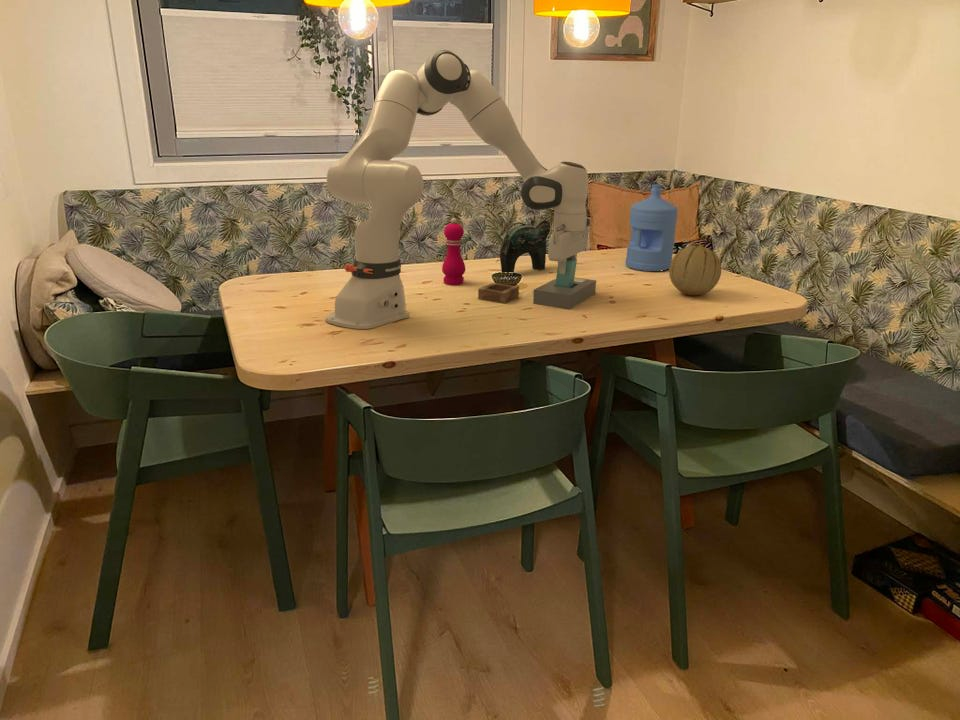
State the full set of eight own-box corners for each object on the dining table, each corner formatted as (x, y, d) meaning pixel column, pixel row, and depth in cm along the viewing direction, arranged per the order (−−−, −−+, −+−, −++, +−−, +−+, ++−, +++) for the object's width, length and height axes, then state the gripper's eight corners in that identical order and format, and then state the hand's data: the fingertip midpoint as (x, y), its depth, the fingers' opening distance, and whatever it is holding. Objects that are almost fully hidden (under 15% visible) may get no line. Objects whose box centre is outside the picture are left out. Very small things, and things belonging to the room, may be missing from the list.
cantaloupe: (673, 300, 199) (679, 248, 194) (662, 287, 213) (667, 239, 208) (724, 301, 199) (732, 250, 194) (710, 288, 213) (716, 240, 208)
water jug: (646, 260, 250) (654, 181, 240) (680, 269, 238) (690, 186, 228) (615, 265, 242) (622, 183, 232) (649, 274, 230) (658, 188, 220)
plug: (568, 289, 196) (572, 257, 192) (555, 286, 198) (559, 254, 194) (573, 285, 200) (577, 253, 196) (560, 282, 201) (564, 251, 197)
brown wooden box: (504, 303, 193) (505, 293, 192) (478, 299, 197) (478, 288, 196) (518, 296, 200) (518, 286, 199) (492, 292, 204) (492, 282, 203)
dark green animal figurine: (539, 266, 239) (541, 207, 232) (552, 269, 234) (555, 210, 227) (496, 274, 227) (497, 212, 220) (509, 278, 222) (511, 215, 215)
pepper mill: (466, 280, 218) (467, 216, 211) (463, 286, 211) (464, 220, 204) (443, 279, 218) (443, 215, 211) (440, 285, 211) (440, 219, 204)
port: (569, 309, 189) (570, 294, 187) (533, 303, 194) (533, 288, 192) (595, 293, 205) (596, 279, 204) (561, 288, 210) (561, 274, 209)
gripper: (565, 229, 182) (562, 280, 187) (593, 218, 199) (589, 266, 204) (543, 226, 185) (541, 277, 190) (572, 216, 202) (569, 263, 207)
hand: (566, 271), depth 197 cm, fingers closed on plug, 4 cm apart
